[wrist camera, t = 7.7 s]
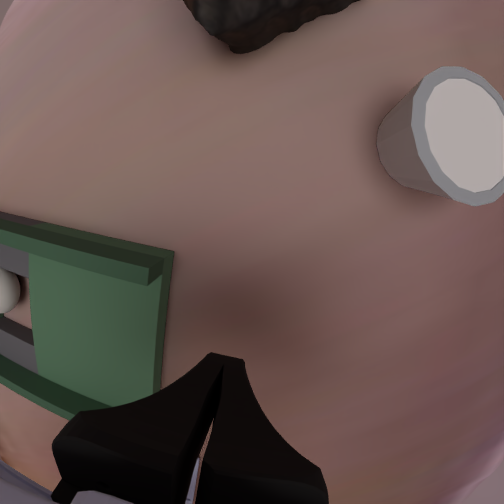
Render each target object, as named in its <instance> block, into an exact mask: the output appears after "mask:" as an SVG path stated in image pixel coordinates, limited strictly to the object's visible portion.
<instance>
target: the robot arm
mask: <svg viewBox="0 0 504 504" xmlns="http://www.w3.org/2000/svg"><path fill="white" fill-rule="evenodd" d="M213 418H214V419H213ZM212 420H213V427H212V432H211V435H210V439H209V442H208V445H207V448H206V451H205V454H204V457H203V461H202V467H201V472H200V478H199V484H198V490H197V496H196V501H195V504H329V498H328V491H327V487H326V484H325V481H324V478H323V475H322V472H321V469H320V468H319V467H317V466H316V465H314V464H313V463H312V462H310V461H309V460H307V459H306V458H305V457H303V456H302V455H301V454H299V453H298V452H297V451H296V450H295V449H294V448H293V447H291V446H290V445H289V444H288V443H287V442H286V441H285V440H284V439H283V438H282V436H281V435H280V434H279V433H278V432H277V431H276V430H275V428H274V427H273V426H272V424H271V423H270V422H269V420H268V419H267V417H266V416H265V414H264V412H263V411H262V409H261V407H260V405H259V403H258V401H257V399H256V397H255V395H254V393H253V390H252V388H251V385H250V383H249V380H248V377H247V373H246V369H245V362H244V361H243V359H239V358H234V357H230V356H225V355H220V354H216V353H212V352H210V353H209V354H207V355H206V356H205V357H204V358H203V359H202V360H201V361H200V362H199V363H198V364H197V365H196V366H195V367H194V368H192V369H191V370H190V371H189V372H187V373H186V374H185V375H184V376H182V377H181V378H179V379H178V380H176V381H175V382H173V383H172V384H170V385H169V386H167V387H165V388H164V389H162V390H160V391H158V392H156V393H154V394H152V395H150V396H147V397H145V398H142V399H139V400H137V401H134V402H131V403H127V404H123V405H119V406H115V407H110V408H104V409H96V410H87V411H79V412H78V413H77V414H76V415H75V416H74V417H73V418H72V419H71V420H70V421H69V422H68V423H67V424H66V425H65V426H64V428H63V429H62V430H61V431H60V433H59V434H58V435H57V436H56V438H55V439H54V440H53V443H52V451H53V455H54V458H55V461H56V464H57V467H58V469H59V472H60V475H61V477H62V479H61V481H60V482H59V484H58V485H57V487H56V488H55V490H54V491H53V492H52V491H50V490H48V489H46V488H44V487H43V486H41V485H39V484H37V483H36V482H34V481H32V480H31V479H29V478H27V477H26V476H24V475H23V474H21V473H19V472H18V471H16V470H15V469H13V468H12V467H10V466H9V465H7V464H6V463H4V462H3V461H2V460H0V504H192V503H193V498H194V491H195V485H196V479H197V473H198V467H199V460H200V459H199V457H198V456H199V454H200V451H201V449H202V446H203V444H204V441H205V439H206V436H207V433H208V431H209V428H210V426H211V423H212Z"/></svg>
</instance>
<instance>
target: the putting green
mask: <svg viewBox="0 0 504 504" xmlns="http://www.w3.org/2000/svg"><path fill="white" fill-rule="evenodd" d="M173 257H174V251H170V250H166V249H161V248H157V247H152V246H147V245H143V244H138V243H134V242H129V241H125V240H120V239H116V238H111V237H107V236H102V235H98V234H94V233H89V232H85V231H80V230H76V229H72V228H67V227H63V226H59V225H54V224H50V223H46V222H41V221H37V220H33V219H29V218H25V217H20V216H16V215H12V214H8V213H4V212H0V267H1V268H3V269H6V270H8V271H11V272H13V273H16V274H19V275H21V276H24V277H27V278H29V292H30V309H31V321H32V330H31V329H29V328H27V327H24V326H22V325H20V324H18V323H16V322H14V321H12V320H10V319H8V318H6V317H4V314H3V313H0V383H1V384H3V385H5V386H6V387H8V388H9V389H11V390H13V391H14V392H16V393H18V394H20V395H21V396H23V397H25V398H27V399H28V400H30V401H32V402H34V403H36V404H37V405H39V406H41V407H43V408H45V409H47V410H49V411H51V412H53V413H55V414H57V415H59V416H61V417H63V418H65V419H67V420H71V419H72V418H73V417H74V416H75V415H76V414H77V413H78V412H79V411H87V410H96V409H104V408H110V407H115V406H119V405H123V404H127V403H131V402H134V401H137V400H139V399H142V398H145V397H147V396H150V395H152V394H154V393H156V392H158V391H160V384H161V370H162V357H163V345H164V334H165V324H166V314H167V305H168V296H169V288H170V279H171V272H172V264H173Z"/></svg>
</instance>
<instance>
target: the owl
mask: <svg viewBox="0 0 504 504" xmlns="http://www.w3.org/2000/svg"><path fill="white" fill-rule="evenodd" d="M183 1H184V2H185V5H186V6H187V8H188V9H189V10H190V11H191V12H192V14H193V16H194V18H195V20H197V21H198V22H199V23H200V24H201V25H202V26H203V27H204V28H205V30H206V31H208V33H209V34H210V35H212V36H215V37H216V38H218V39H219V40H221V41H223V42H225V43H227V44H228V45H229V47H230V50H231V51H232V52H234V53H239V54H243V53H248V52H251V51H254V50H257V49H259V48H261V47H262V46H264V45H266V44H267V43H269V42H270V41H272V40H273V39H274V38H275V37H276V36H277V35H279V34H281V33H283V32H294V31H296V30H297V29H298V28H299V27H300V26H301V25H302V24H304V23H306V22H309V21H312V20H314V19H315V18H317V17H318V16H320V15H325V14H335V13H337V12H340V11H342V10H344V9H345V8H347V7H348V6H349V5H350V4H351V3H352V2H356V1H359V0H183Z"/></svg>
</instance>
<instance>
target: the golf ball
mask: <svg viewBox="0 0 504 504" xmlns="http://www.w3.org/2000/svg"><path fill="white" fill-rule="evenodd" d="M19 297H20V284H19V281H18V278H17V276H16V275H15V274H14V273H13V272H11V271H8V270H6V269H3V268H1V267H0V313H7V312H9V311H11V310H12V309H13V308H14V307H15V306H16V304H17V303H18V301H19Z"/></svg>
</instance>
